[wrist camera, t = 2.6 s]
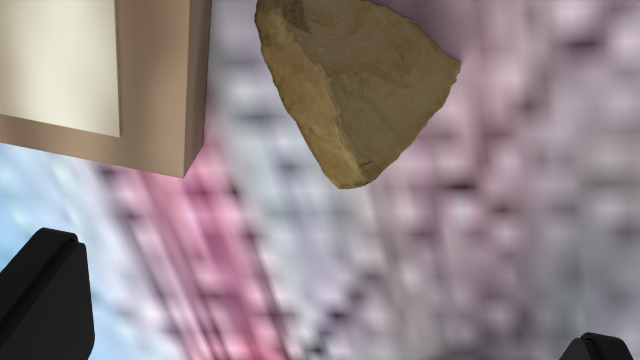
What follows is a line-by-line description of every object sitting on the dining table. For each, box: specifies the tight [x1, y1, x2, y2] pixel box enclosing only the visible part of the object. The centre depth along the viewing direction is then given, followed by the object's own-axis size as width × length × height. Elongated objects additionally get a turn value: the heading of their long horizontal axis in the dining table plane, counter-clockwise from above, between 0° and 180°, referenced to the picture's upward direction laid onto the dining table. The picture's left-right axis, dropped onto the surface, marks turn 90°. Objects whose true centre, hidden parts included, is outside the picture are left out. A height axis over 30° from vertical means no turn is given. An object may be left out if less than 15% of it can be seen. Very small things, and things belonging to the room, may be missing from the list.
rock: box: [254, 0, 460, 189], centre depth 25 cm, size 11×9×10 cm
